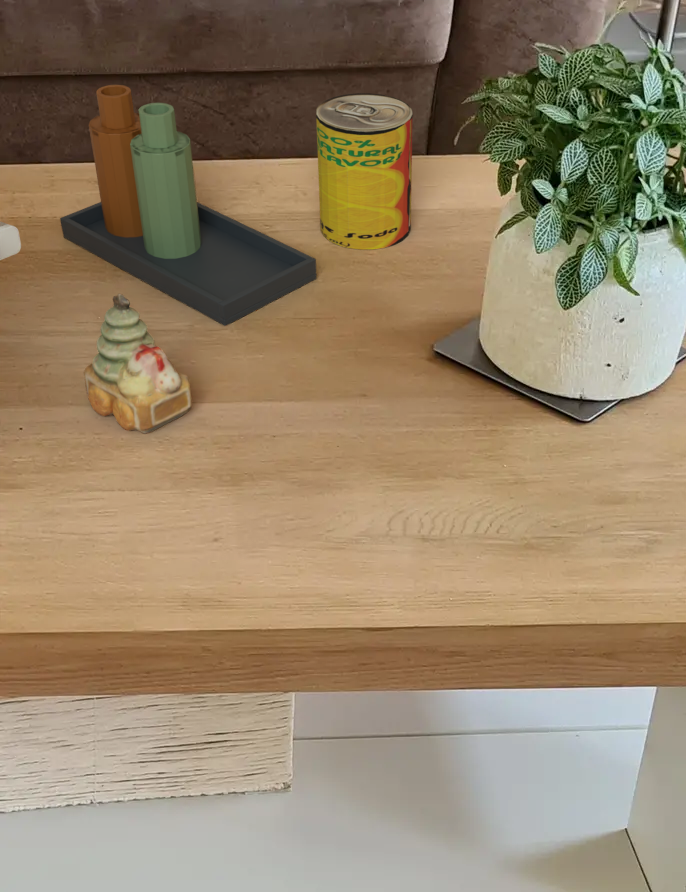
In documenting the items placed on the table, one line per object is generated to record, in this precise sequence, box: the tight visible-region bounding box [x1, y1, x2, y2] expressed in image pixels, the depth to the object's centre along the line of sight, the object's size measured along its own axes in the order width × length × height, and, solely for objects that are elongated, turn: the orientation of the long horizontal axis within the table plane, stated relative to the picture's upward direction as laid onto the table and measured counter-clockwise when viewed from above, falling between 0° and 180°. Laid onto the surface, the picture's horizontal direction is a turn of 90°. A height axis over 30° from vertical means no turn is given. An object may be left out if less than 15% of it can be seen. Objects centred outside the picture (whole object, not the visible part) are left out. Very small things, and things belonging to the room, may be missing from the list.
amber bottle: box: [88, 84, 143, 237], centre depth 110 cm, size 5×5×14 cm
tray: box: [59, 201, 317, 327], centre depth 110 cm, size 23×11×2 cm, turn 50°
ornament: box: [83, 293, 193, 434], centre depth 88 cm, size 8×6×10 cm
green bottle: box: [130, 102, 201, 259], centre depth 107 cm, size 5×5×14 cm
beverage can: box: [315, 92, 414, 251], centre depth 112 cm, size 9×9×12 cm
